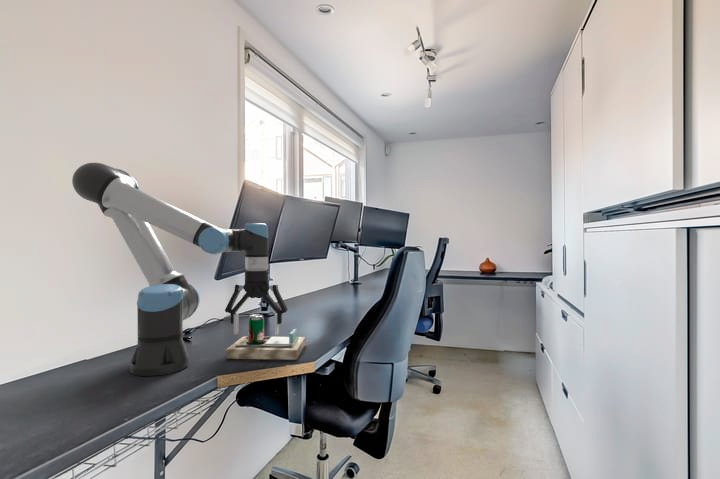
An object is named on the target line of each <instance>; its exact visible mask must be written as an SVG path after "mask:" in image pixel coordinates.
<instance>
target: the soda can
mask: <svg viewBox="0 0 720 479" xmlns="http://www.w3.org/2000/svg"><path fill="white" fill-rule="evenodd" d="M247 320H248V324H247V326H248V327H247V331H248V332H247V333H248V334H247V336H248V345H262V344H264V337H265V318H264V314H261V313H260V314H258V313H257V314H250V315H249V318H248V319H247Z"/></svg>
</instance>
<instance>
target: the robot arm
mask: <svg viewBox="0 0 720 479" xmlns="http://www.w3.org/2000/svg"><path fill="white" fill-rule="evenodd" d="M71 180H72V187H73V189H74V191H75V192H76V194H77V195H78V196H80V197H81V198H83V199H84V200H86V201H89V202H92V203H96V204H97V205H98V207H99V209H100V211H101V212H102V214H103V215H104V216H105V217H108V218H111V219H112V220H113V223H114V224H115V226H116V228H117V229H118V230H117V231H119V234H120V235H121V236H122V238H123V240H124V242H125V243H126V246H127V248H128V250H130V253H131V254H132V256H133V258H134V259H135V261H136V263H137V265H138V266H139V268H140V271H141V272H142V274H143V276H144V277H145V279H146V281H147V283H148V284H149V285H148V286H147V287H144V288H142V289H140V290H139V292H138V294H137V301H136V305H137V344H136V346H135V349H134V353H133V356H132V357H131V361H130V363H129V364H130V366H129V369H130V370H129V372H130V374H132V375H135V376H138V377H139V376H142V377H153V376H156V377H157V376H163V375H169V374H173V373H176V372H179V371H181V370H184V369H185V368H187V367H189V364H190V356H189V353H188V351H187V350H188V349H187V347H186V344H185V342H184V340H183V332H184V331H183V321H185V320H187V319H189V318H190V317H192V315H194V313H195V312H196V311H197V309H198V308H199V306H200V300H201V299H200V294H199V292H198V290H197V289H196V288H195V287H194V286H193V285H192V284H189V282H188V280H187V278H186V277H185V274H184V273H181V272H178V271H176V269H175V268H174V266H173V264H172V262H171V260H170V259H169V258H170V257H168V255H167V253H166V251H165V250H164V247H163V246H162V244H161V242H160V240H159V239H158V237H157V235H156V234H155V231H154V230H153V228H152V226H153V227H155V228H156V227H157V228H158V229H160V230H163V231H165V232H167V233H169V234H171V235H173V236H176V237H178V238H179V239H182V240H183V241H187V242H189V243H191V244H192V245H195V246H196V247H198V248H200V249H201V250H203V252H205V253H208V254H210V255H218V254H221V253H229V252H230V253H237V252H239V253H243V252H244V268H245V271H244V284H241V283H238V284H235V285H234V290H233V293H232V295H231V297H230V299H229V301H228V303H227V305H226V307H225V309H224V311H225V313H228V314H230V325H231V324H232V325H233V335H237V334H239V333H240V331H239V330H240V329H239V328H240V325H239V323H240V322H239V321H240V320H239V317H240V316H239V315H240V314H239V312H238V311H239V309H241V307H242V306H243V304H245V302H247V300H249V298H250V299H255V298H256V299H261V298H263V299H264V301H266V302H267V303H268V305H269V307H271V309H272V310H273V311H274V312H275V313H276V314H274V336H278V335H279V333H280V325H281V324H282V322H283V314H285V313H287V312H288V307H287V305H286V304H285V301H284V299H283V298H282V297H283V296H282V295H281V293H280V291H279V284H277V283H274V284H270V283H269V241H270V240H269V239H270V238H269V226H268V225H267V224H266V223H261V222H253V223H252V222H251V223H250V222H247V223H245V225H244V228H240V229H238V228H236V229H235V228H221V227H219V226H216V225H214V224H212V223H210V222H208V221H206V220H203V219H201V218H199V217H197V216H195V215H193V214H191V213H189V212H187V211H184V210H183V209H180V208H178V207H176V206H174V205H172V204H169V203H168V202H167V201H164V200H162V199H159V198H158V197H155V196H153V195H151V194H149V193H147V192H144V191H142V190H140V186H139V183H138V182H137V179H136V178H134V176H133V175H131V174H130V173H128V172H127V171H125V170H122V169H119V168H115V167H112V166H109V165H106V164H105V163H101V162H87V163H85V164H82V165H81V166H79V167H78V168H77V169H75V171H74V173H73V175H72V179H71ZM151 225H152V226H151ZM242 290H244V291H245V294H244V295H242V297H241V299H240V300H239V301H238V302H237V303H236V300H238V296H239V295H240V292H241V291H242ZM269 290H270V291H271V292H272V293H273V295H274V298H275V299H276V301H275V300H274V299H273V298H272V297H271V296H270V294H269V293H268V291H269ZM276 302H277V303H278V304H277V303H276ZM235 303H236V305H235ZM234 305H235V306H234Z"/></svg>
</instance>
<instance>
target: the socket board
mask: <svg viewBox="0 0 720 479" xmlns="http://www.w3.org/2000/svg"><path fill="white" fill-rule="evenodd" d="M271 337H272V336H264V344H262V345H248V335H245V336H242V337H240V338H239V339H238V340H236V341H235V342H234V343H233V344H231V345H230V346H229V347H227V348H226V360H227V359H230V360H290V361H292V360H293V361H294V360H296V361H297V360H298V358H299V357H300V355H301V353H302V352H303V350H304V349H305V347H306V337H305V336H297V337H298V340H297V341H296V343H295V344H294V345H293V347H292V345H265V343H266V342H267V341H268V340H269V339H270V338H271Z"/></svg>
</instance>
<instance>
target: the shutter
mask: <svg viewBox="0 0 720 479" xmlns="http://www.w3.org/2000/svg"><path fill="white" fill-rule="evenodd" d="M270 337H271V338H270V339H269V340H268V341H267V342H266V343H265V345H292V347H293V345H294V344H295V343H296V341H297V340H298V337H299V336H298V329H297V328H293V329H292V330H291V331H290V332H289V334H288V336H270Z"/></svg>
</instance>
